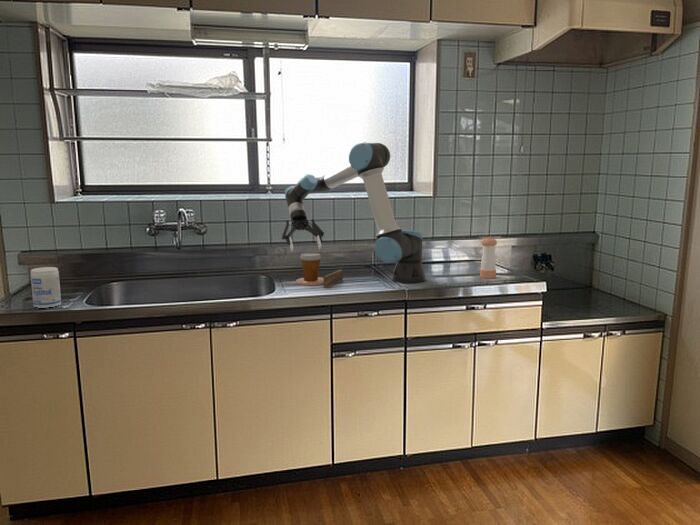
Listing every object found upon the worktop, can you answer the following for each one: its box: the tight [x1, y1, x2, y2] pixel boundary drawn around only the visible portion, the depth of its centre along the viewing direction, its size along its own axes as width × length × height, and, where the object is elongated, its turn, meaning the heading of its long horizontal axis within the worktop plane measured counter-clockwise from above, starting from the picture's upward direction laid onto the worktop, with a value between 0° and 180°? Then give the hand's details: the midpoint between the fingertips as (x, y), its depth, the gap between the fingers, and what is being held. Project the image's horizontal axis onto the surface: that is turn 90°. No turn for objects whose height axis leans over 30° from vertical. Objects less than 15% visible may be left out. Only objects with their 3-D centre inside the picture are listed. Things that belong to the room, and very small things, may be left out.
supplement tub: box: [30, 266, 62, 309], centre depth 213 cm, size 10×10×15 cm
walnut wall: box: [323, 269, 344, 289], centre depth 248 cm, size 2×16×5 cm, turn 155°
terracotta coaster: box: [295, 276, 324, 286], centre depth 253 cm, size 15×15×1 cm
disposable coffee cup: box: [299, 252, 322, 281], centre depth 252 cm, size 10×10×12 cm
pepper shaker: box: [479, 236, 498, 279], centre depth 259 cm, size 7×7×19 cm
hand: (306, 249), depth 257 cm, fingers open, 13 cm apart
